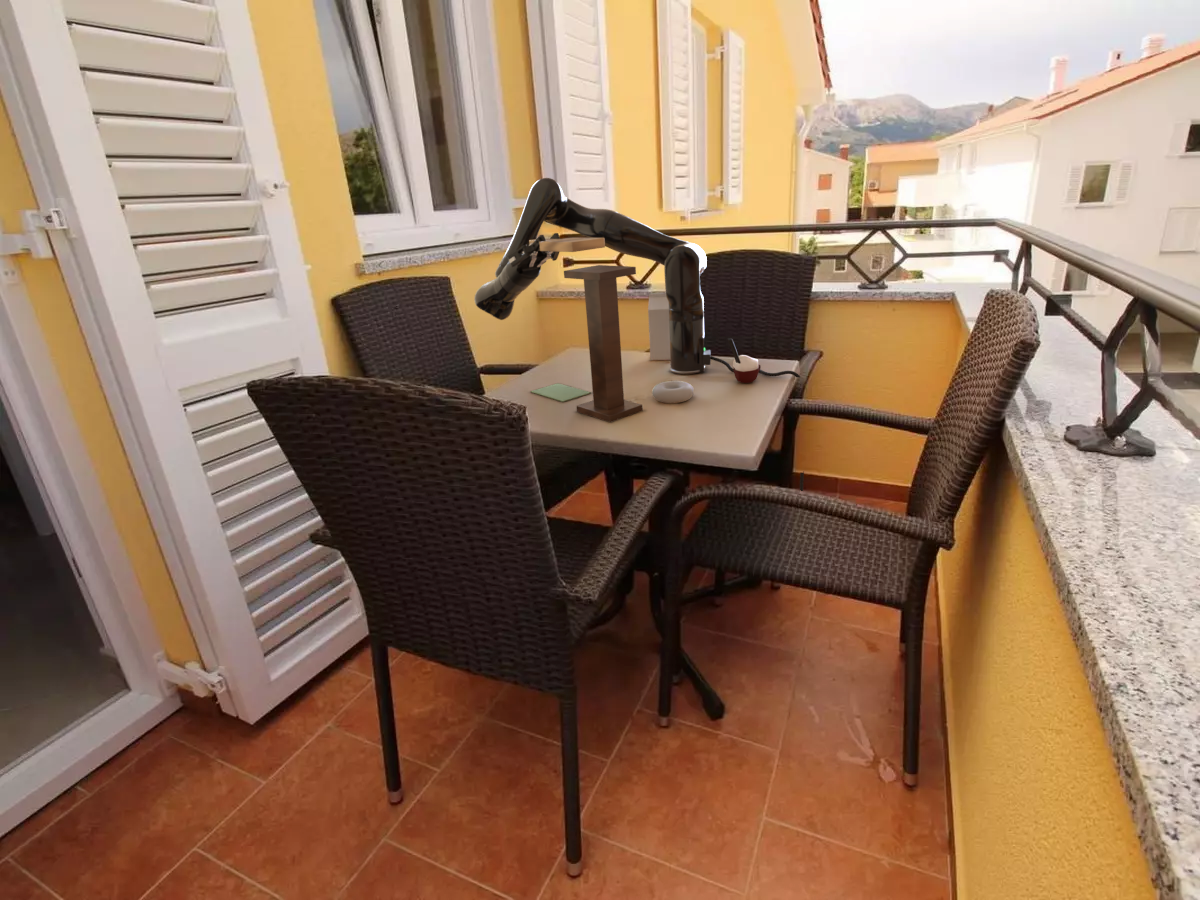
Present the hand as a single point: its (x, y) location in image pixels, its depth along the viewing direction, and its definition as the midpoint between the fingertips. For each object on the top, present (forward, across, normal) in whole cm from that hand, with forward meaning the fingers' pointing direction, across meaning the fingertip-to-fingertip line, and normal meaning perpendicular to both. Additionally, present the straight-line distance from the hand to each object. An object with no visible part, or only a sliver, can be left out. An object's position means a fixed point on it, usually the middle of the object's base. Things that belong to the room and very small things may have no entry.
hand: (550, 237), depth 143 cm
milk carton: (-26, +43, +30) cm, 58 cm away
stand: (-4, -1, +42) cm, 42 cm away
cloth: (-23, +1, +31) cm, 39 cm away
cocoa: (+5, +36, +47) cm, 59 cm away
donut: (0, +15, +44) cm, 47 cm away
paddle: (+2, 0, +4) cm, 4 cm away
